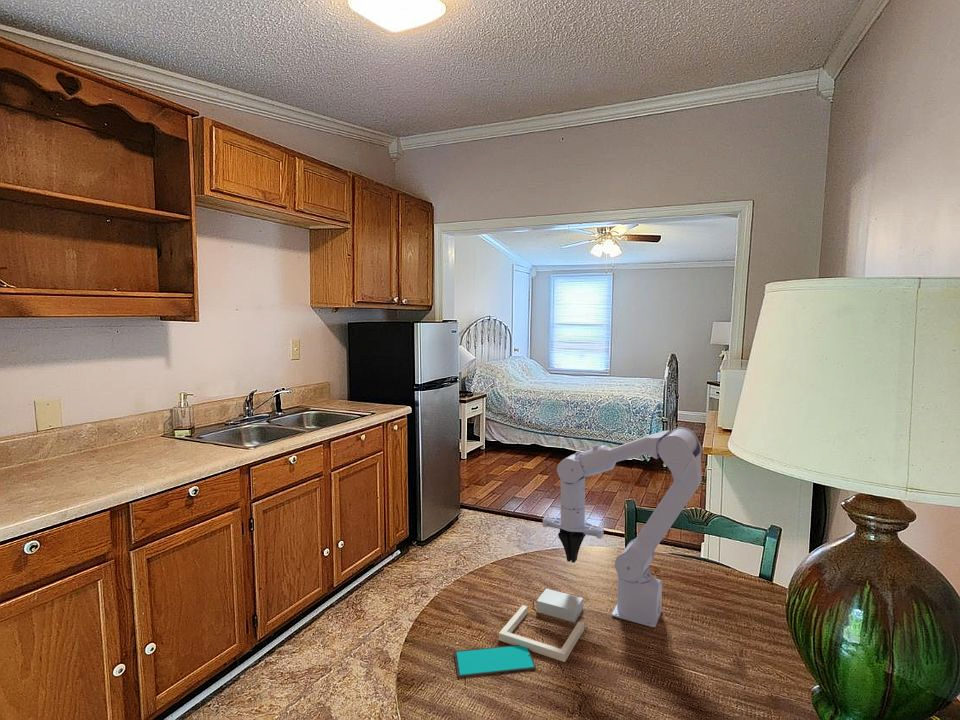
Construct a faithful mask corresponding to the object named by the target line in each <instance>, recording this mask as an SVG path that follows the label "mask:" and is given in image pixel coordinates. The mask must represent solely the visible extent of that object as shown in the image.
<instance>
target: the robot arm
mask: <svg viewBox="0 0 960 720" xmlns="http://www.w3.org/2000/svg"><path fill="white" fill-rule="evenodd" d="M668 433H669V434H668ZM702 448H703V447H702V445H701V443H700V441H699V438H698V437H697V434H695V432H694V431H693V430H691V429H690V428H687V427H677V428H674V429H673V430H669V429H668V430H662V431H659V432H656V433H651V434H648V435H645V436H643V437H642V436H641V437H640V438H637V439H635V440H632V441H629V442H626V443H623V444H621V445H619V446H616V447H610V446H607V444H606V445H605V444H604V445H600V444H599V443H597V444H594V445H592V448H591V449H588V450H585V451H581V450H579V451H578V450H577V451H576V452H575V453H573V454H570V455H569V456H567V457H565V458H563V459H562V460H561V461H560V462H559V463H558V464H557V468H556V473H557V475H558V477H559V478H560V479H559V480H560V517H551V516H545V517H543V518H542V527H543V528H553V529H557V530H559V533H558V534H557V535H558V536H557V537H558V539H559V540H560V542H561V545H562V547H563V549H564V552H565V556H566V561H567V562H568V563H570V562H571V563H573V564H574V563H576V562H577V560H578V555H579V551H580V549H581V546H582V543H583V541H584V539H585V537H586V536H592V537H596V539H602V538H603V537H604V530H605V529H604V527H601V526H597V525H595V524H593V523H589V522H586V521H585V520H586V519H585V518H586V516H585V515H586V477H587V478H588V477H592V476H595V475H598V474H603V473H605V472H608V471H611V470H614V469H615V466H616V463H618V462H621V461H625V460H629V459H630V460H631V459H633V458H637V457H641V456H646V455H648V456H650V457H652V458H653V459H656V460H658V459H659V458H660V459H661V460H662V462H664V464H665V465H666V467H667V468H668V469H669V471H670V473H671V476H672V478H673V482H672V483H671V485H670V486H669V489H668V490H667V491H666V493H665V494H664V496H663V497H662V498H661V500H660V502H658V505H657V506H656V508H655V509H654V510H653V511H652V514H651V515H650V517H649V518H648V519H647V520H646V523H645V524H644V525H643V527H642V529H641V530H640V531H639V533H638V534H637V536H636V537H635V538H634V539H631V541H629V542H628V543H627V546H626V547H625V548H624V550H622V552H621V553H619V554H618V556H616V558H615V561H614V568H615V571H616V573H617V597H616V598H617V603H616V605H615V607H614V609H613V611H612V612H611V616H612V617H614V618H618V619H622V620H625V621H629V622H632V623H636V624H640V625H643V626H646V627H651V628H657V625H658V622H659V619H660V616H661V614H662V611H663V608H662V605H663V604H662V601H663V599H662V598H663V597H662V596H663V583H662V580H661V579H658V578H656V577H654V576H653V575H652V572H651V568H650V565H651V564H652V562H653V561H654V558H655V551H656V549H657V547H658V546H659V545H660V544H661V541H662V540H663V538H664V537H665V535H666V534H667V533H668V531H669V530H670V528H671V527H672V526H673V524H675V521H676V520H677V518H679V515H680V514H681V512H682V511H683V509H684V508H685V507H686V505H687V504H688V502H689V501H690V500H691V499H692V497H693V495H694V494H695V493H696V491H697V490H698V488H699V486H701V483H702V480H703V477H702V476H703V475H702V473H703V472H702V451H703V449H702Z"/></svg>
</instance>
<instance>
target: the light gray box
mask: <svg viewBox="0 0 960 720" xmlns="http://www.w3.org/2000/svg"><path fill="white" fill-rule="evenodd" d="M583 609H584V598H583V597H581V596H577V595H572V594H569V593H566V592H562V591H559V590H558V591H557V590H553V589H550V588H545V589H544V591H543V592H542V593H541V594H540V596H539V597H538V598H537V599H536V613H540V614H543V615H547V616H550V617H554V618H557V619H561V620H565V621H569V622H570V623H576V622H577V619H578V618H579V617H578V616H580V615H581V613H582V612H583Z"/></svg>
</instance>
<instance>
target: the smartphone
mask: <svg viewBox="0 0 960 720" xmlns="http://www.w3.org/2000/svg"><path fill="white" fill-rule="evenodd" d="M453 657H454V662H455V664H454V665H455V669H456V675H457V678H458V679H463V678H473V677H481V676H482V677H483V676H491V675H503V674H511V673H512V674H513V673H522V672H523V673H524V672H527V671H529V672H530V671H535V670H536V665H535V662H534V659H533V656H532V654H531V651H530V650H529V648H527V647H524V646H520V645H507V646H506V645H504V646H503V645H502V646H495V647H493V646H492V647H483V648H474V649H463V650H456V651H453Z"/></svg>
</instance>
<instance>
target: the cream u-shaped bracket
mask: <svg viewBox="0 0 960 720" xmlns="http://www.w3.org/2000/svg"><path fill="white" fill-rule="evenodd" d="M528 609H529V608H528V605H525V604H522V605H521V606H520V608H519V609H518V610H517V611H516V612H515V613H514V615H513V616H512V617H511V618H510V619H509V620H508V622H507V623H506V624H505V625H504V626H503V628H502V629H501V630H500V631H499V632H498V641H500V642H503V643H506V644H508V645H511V646H513V645H520V646H524V647H527V648H529V651H530V652H533V653H536V654H539V655H541V656H545V657H547V658H548V657H549V658H551V659H554V660H557V661H560V662H563V663H565V662H566V661H567V660H568V658H569V655H570V654H571V652H572V650H573V649H574V647H575V646H576V644H577V643H578V641H579V639H580V638H581V636H582V634H583V633H584V631H585V622H583V621H579V620H578V622H577V623H576V625H575V627H574V628H573V630H572V631H571V633H569V634H570V635H569V636H568V638H567V639H566V641H565V642H564V644H563V645H562V647H561V648H560V647H556V646H553V645H550V644H546V643H543V642H540V641H537V640H534V639H531V638H528V637H525V636H522V635H519V634H517V633H513V631H514V630H515V629H516V628H517V627H518V625H520V623H521V622H522V621H523V620H524V618H525V617H527V615H528V612H529V611H528Z"/></svg>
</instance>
